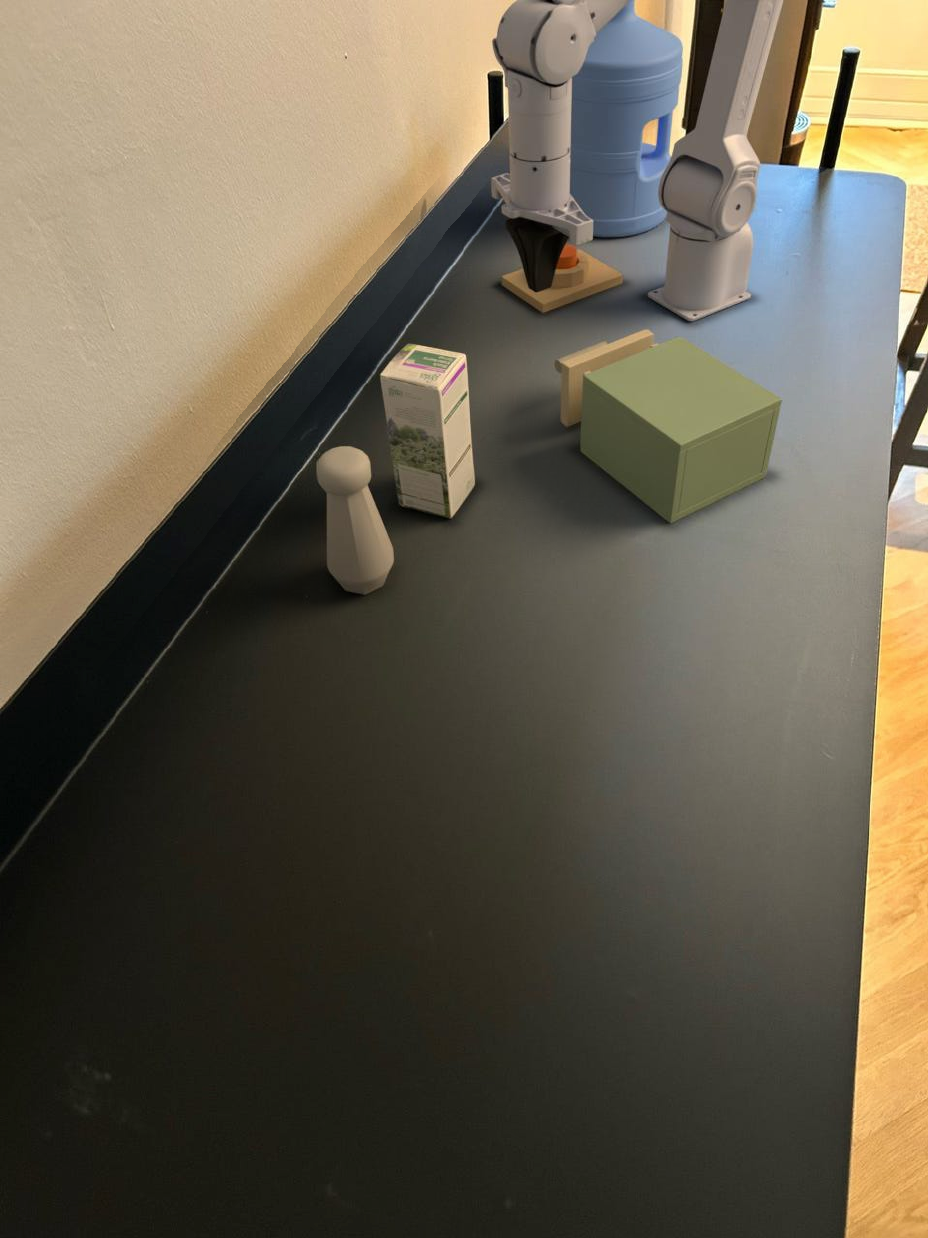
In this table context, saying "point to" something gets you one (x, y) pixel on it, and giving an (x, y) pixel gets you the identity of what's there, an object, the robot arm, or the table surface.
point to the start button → (567, 257)
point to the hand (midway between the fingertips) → (540, 287)
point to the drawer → (593, 369)
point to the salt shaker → (353, 522)
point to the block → (565, 283)
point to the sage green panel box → (677, 427)
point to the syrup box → (429, 428)
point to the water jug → (623, 123)
